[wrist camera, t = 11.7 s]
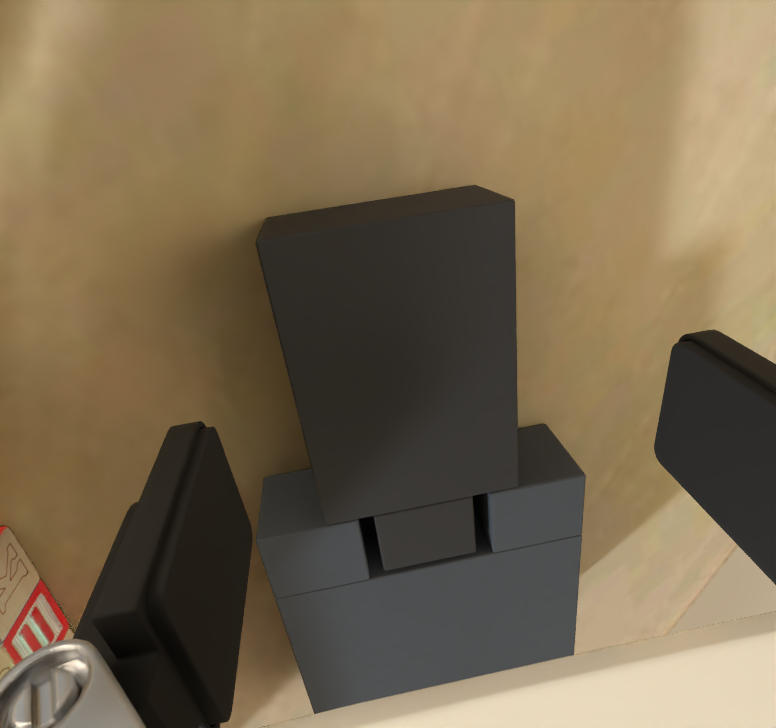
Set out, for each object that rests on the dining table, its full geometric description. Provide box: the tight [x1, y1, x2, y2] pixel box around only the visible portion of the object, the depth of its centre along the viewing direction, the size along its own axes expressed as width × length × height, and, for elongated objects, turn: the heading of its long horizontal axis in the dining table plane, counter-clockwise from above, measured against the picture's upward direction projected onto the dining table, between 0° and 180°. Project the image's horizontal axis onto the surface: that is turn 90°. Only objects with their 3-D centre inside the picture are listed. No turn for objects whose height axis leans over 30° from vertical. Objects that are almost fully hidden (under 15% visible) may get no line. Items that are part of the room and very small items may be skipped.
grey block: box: [256, 424, 586, 714], centre depth 22 cm, size 12×12×4 cm
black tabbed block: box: [256, 185, 518, 571], centre depth 18 cm, size 13×7×4 cm, turn 7°
